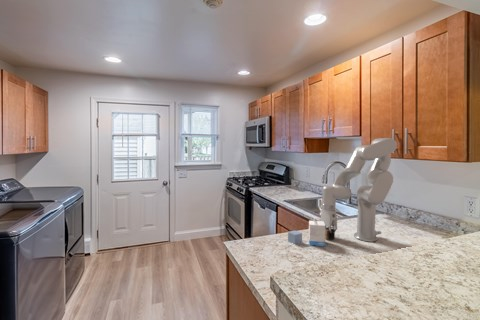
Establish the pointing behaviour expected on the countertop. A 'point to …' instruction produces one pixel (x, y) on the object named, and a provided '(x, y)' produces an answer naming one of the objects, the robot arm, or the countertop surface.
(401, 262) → the countertop surface
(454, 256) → the countertop surface
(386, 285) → the countertop surface
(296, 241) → the slate cube
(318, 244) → the ink box
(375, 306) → the countertop surface
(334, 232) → the walnut cube
